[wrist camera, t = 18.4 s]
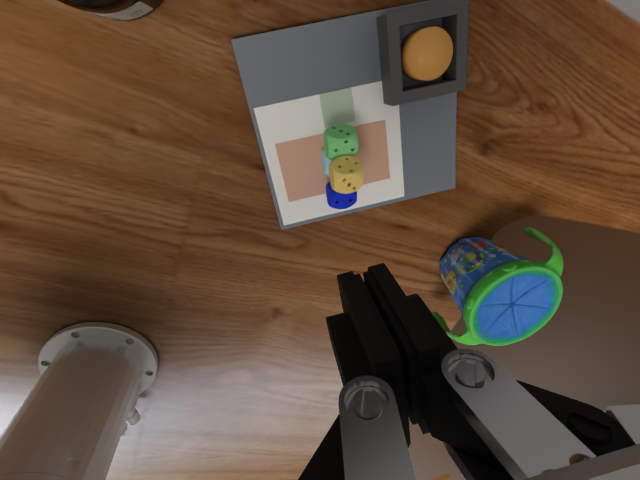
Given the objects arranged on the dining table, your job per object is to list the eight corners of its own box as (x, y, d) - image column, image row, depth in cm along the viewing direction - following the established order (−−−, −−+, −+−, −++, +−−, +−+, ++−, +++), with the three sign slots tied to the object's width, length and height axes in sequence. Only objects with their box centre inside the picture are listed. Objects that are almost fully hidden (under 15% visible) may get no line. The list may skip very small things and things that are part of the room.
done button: (439, 74, 32) (452, 75, 30) (399, 83, 32) (409, 84, 29) (439, 25, 30) (453, 22, 28) (395, 34, 30) (407, 31, 27)
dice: (348, 196, 36) (366, 221, 30) (324, 200, 36) (338, 225, 30) (345, 117, 32) (364, 129, 27) (318, 120, 32) (332, 132, 26)
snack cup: (438, 317, 48) (480, 374, 39) (395, 277, 44) (432, 332, 35) (530, 243, 45) (599, 287, 36) (494, 192, 40) (563, 228, 32)
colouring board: (450, 185, 39) (467, 195, 36) (280, 226, 37) (283, 240, 34) (452, -4, 30) (474, -12, 27) (231, 40, 29) (229, 37, 26)
